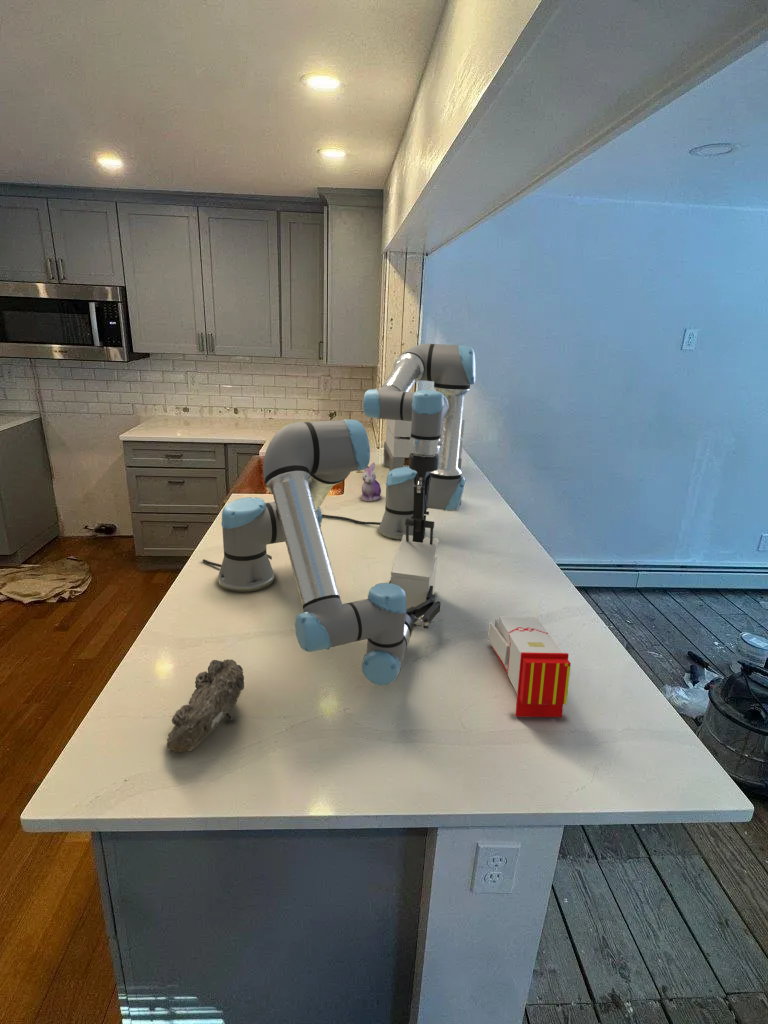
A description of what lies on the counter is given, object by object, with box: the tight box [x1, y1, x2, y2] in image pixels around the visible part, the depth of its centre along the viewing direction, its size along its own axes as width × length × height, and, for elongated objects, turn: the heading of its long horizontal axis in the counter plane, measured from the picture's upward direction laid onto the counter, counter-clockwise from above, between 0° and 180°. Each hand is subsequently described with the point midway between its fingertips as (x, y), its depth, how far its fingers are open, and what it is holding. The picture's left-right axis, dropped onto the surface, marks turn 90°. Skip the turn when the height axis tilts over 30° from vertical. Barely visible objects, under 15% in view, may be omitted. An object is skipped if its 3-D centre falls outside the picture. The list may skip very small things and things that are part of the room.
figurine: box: [360, 462, 382, 502], centre depth 233 cm, size 9×10×15 cm
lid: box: [390, 518, 440, 581], centre depth 146 cm, size 16×10×8 cm, turn 168°
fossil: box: [166, 658, 245, 754], centre depth 106 cm, size 22×10×15 cm
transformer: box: [383, 418, 465, 472], centre depth 268 cm, size 34×33×41 cm
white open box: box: [389, 556, 438, 619], centre depth 151 cm, size 16×10×11 cm, turn 168°
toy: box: [487, 616, 572, 718], centre depth 123 cm, size 12×13×30 cm
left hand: (411, 587), depth 146 cm, fingers closed on white open box, 10 cm apart
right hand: (418, 539), depth 151 cm, fingers closed on lid, 2 cm apart
